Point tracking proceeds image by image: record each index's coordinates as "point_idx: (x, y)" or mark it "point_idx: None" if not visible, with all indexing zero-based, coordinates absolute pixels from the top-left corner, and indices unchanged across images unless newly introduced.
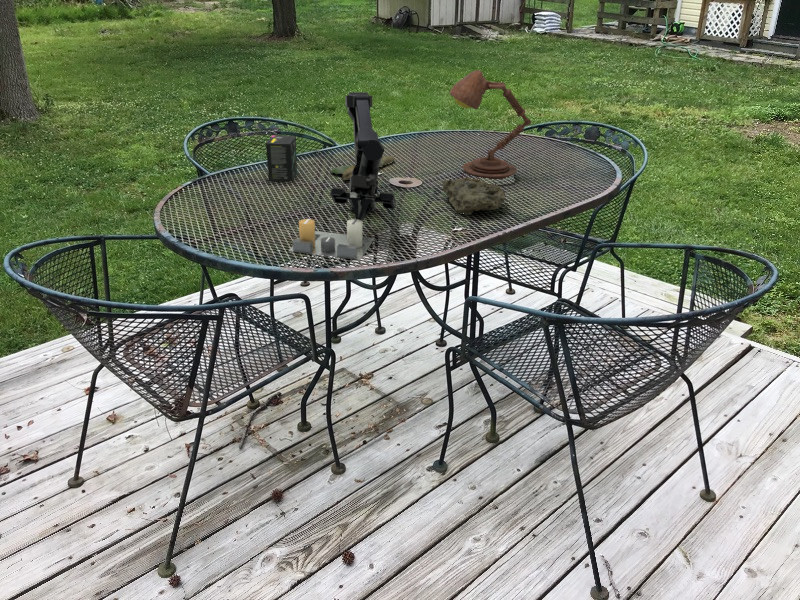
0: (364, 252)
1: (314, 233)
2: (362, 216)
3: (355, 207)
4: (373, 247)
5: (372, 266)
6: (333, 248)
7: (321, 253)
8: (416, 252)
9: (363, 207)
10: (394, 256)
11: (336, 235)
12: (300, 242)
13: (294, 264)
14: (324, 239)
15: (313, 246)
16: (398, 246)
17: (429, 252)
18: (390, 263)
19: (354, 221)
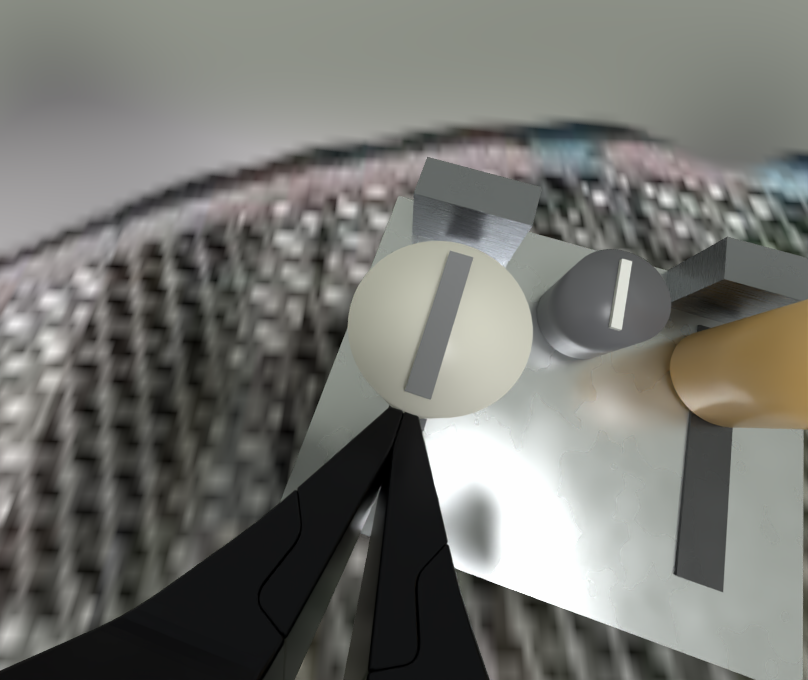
0: None
1: (761, 341)
2: (328, 466)
3: (442, 654)
4: (309, 402)
5: (342, 182)
6: (551, 287)
7: None
8: (82, 326)
9: (247, 605)
10: (215, 281)
11: (554, 560)
12: (798, 257)
13: (706, 210)
14: (645, 301)
15: (676, 346)
16: (157, 413)
17: (11, 324)
18: (253, 208)
19: (442, 317)
